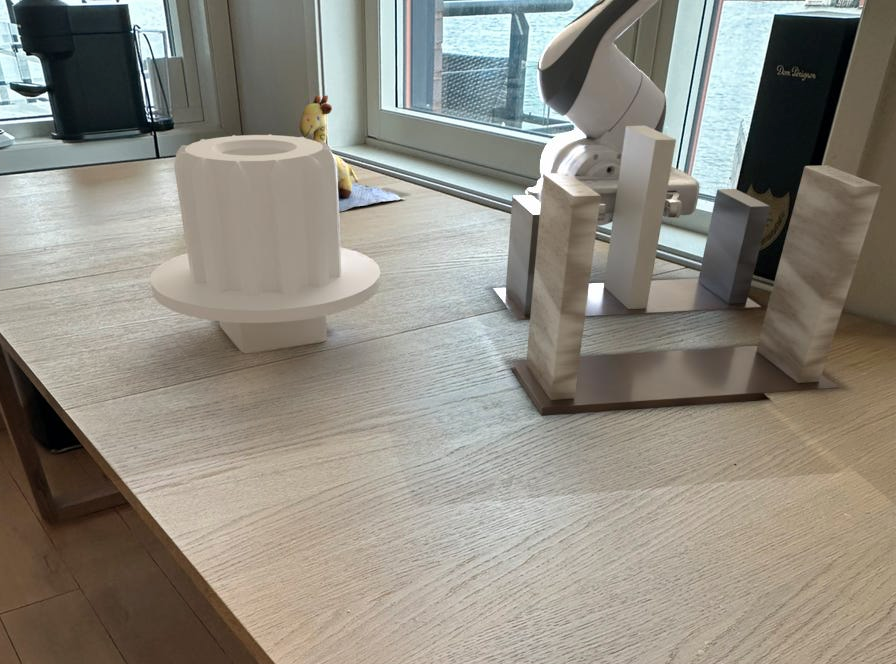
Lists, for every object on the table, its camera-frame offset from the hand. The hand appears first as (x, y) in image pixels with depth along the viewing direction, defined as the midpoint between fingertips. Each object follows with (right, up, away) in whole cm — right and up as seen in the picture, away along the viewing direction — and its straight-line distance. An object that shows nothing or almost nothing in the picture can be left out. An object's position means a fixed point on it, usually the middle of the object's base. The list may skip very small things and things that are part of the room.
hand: (637, 212), depth 101 cm
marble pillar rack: (0, -24, -12) cm, 27 cm away
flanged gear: (-43, -16, -3) cm, 46 cm away
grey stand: (0, -8, +6) cm, 11 cm away
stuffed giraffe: (-40, +27, +49) cm, 69 cm away
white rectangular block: (0, -8, +6) cm, 10 cm away
